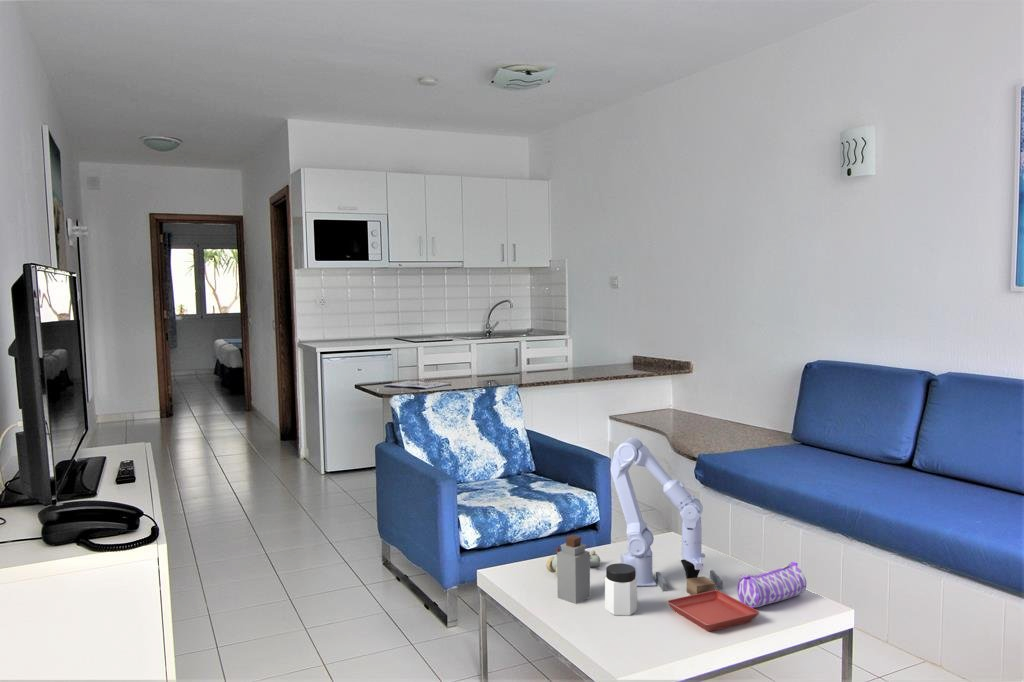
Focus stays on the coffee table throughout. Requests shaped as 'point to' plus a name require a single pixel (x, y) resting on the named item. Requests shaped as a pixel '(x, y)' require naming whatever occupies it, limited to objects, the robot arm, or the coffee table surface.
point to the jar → (620, 589)
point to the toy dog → (552, 561)
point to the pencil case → (771, 586)
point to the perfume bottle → (573, 570)
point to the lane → (713, 577)
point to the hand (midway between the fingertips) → (691, 584)
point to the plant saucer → (713, 610)
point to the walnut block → (699, 585)
